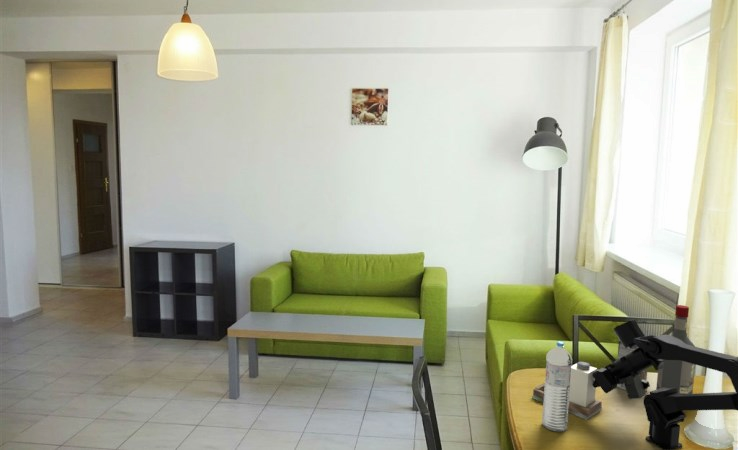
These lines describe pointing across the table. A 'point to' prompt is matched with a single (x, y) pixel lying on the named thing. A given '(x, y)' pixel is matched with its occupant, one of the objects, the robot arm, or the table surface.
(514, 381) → the table surface
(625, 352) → the coffee box
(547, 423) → the water bottle
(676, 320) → the liquor
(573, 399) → the white juice carton
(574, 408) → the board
